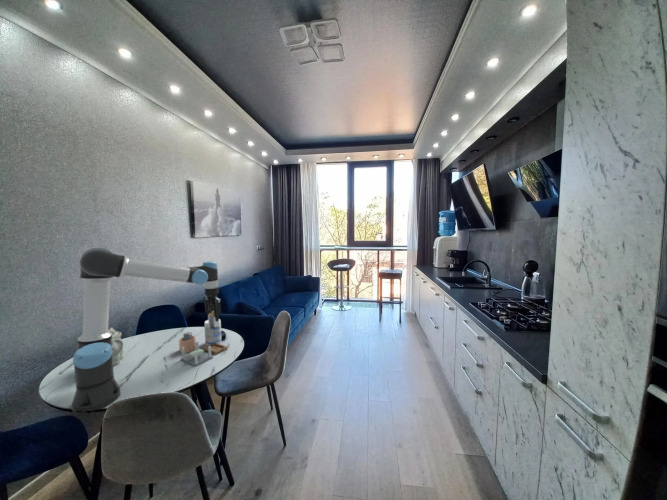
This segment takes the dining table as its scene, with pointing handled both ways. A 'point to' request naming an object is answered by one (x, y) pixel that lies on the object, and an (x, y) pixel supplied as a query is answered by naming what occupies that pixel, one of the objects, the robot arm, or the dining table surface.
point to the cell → (211, 320)
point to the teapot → (116, 346)
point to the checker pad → (197, 352)
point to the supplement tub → (212, 334)
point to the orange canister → (187, 342)
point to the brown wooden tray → (215, 348)
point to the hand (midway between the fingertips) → (213, 325)
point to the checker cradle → (196, 359)
